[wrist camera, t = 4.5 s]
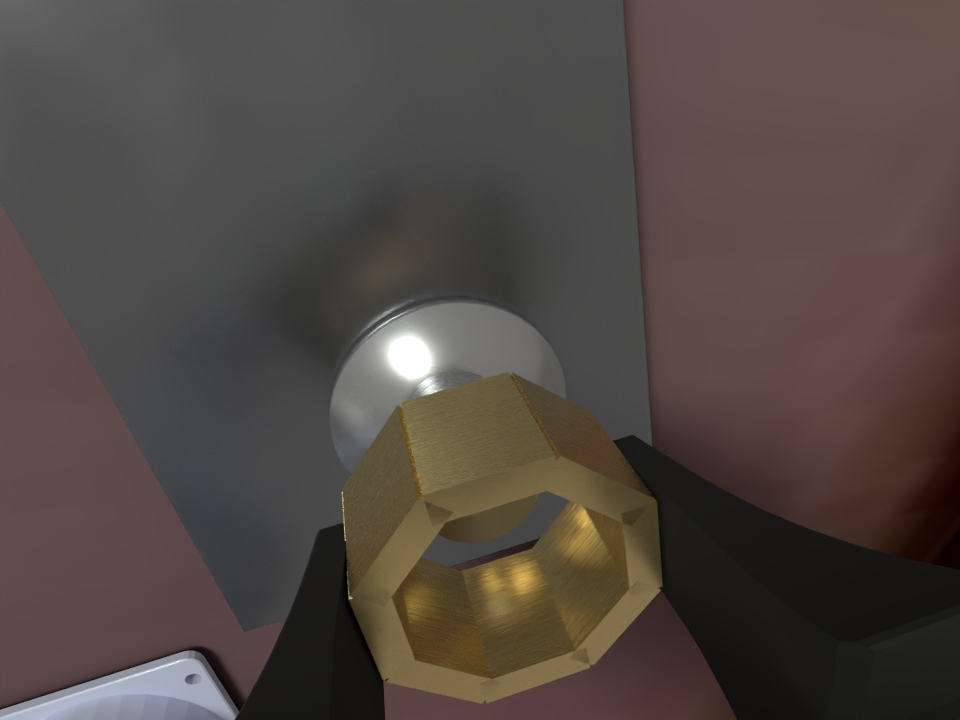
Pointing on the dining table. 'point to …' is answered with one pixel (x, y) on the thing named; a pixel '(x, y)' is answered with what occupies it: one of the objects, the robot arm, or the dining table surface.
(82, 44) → the block
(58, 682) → the dining table surface
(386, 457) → the ring
